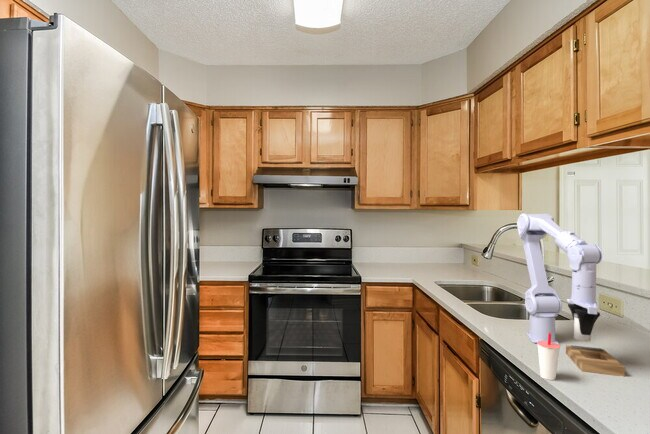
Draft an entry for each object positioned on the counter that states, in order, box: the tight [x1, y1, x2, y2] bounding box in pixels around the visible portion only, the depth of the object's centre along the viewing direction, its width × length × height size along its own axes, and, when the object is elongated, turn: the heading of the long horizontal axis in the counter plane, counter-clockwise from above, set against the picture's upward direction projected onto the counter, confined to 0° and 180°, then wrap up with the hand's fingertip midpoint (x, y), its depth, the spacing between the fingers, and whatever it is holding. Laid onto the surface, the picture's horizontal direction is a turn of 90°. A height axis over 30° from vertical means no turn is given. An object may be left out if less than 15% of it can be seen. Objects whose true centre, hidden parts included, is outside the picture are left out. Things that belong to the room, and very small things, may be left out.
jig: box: [565, 344, 626, 377], centre depth 104 cm, size 13×10×3 cm
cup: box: [536, 333, 561, 381], centre depth 95 cm, size 5×5×12 cm
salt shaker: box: [573, 313, 592, 342], centre depth 104 cm, size 4×4×7 cm
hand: (582, 331), depth 104 cm, fingers closed on salt shaker, 4 cm apart
